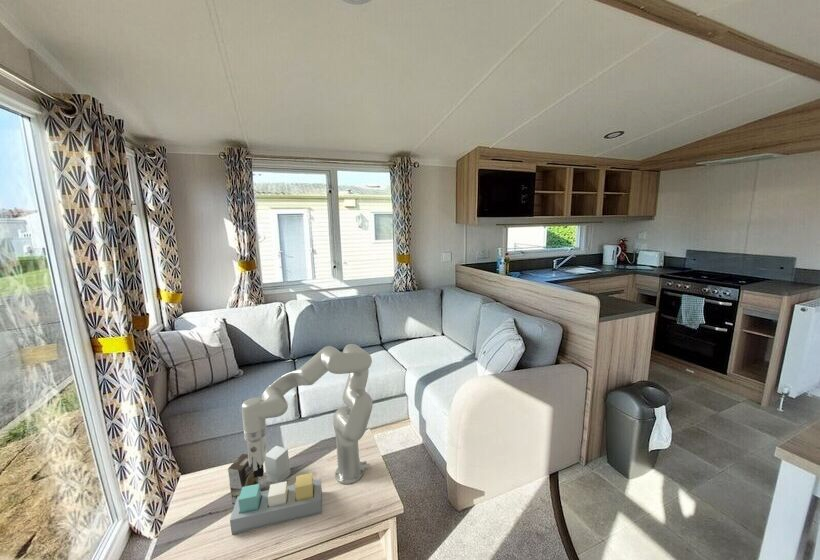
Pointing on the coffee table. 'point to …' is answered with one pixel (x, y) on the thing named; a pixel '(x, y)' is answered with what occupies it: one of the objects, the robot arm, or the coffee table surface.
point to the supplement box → (277, 464)
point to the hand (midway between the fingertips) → (259, 475)
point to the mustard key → (304, 487)
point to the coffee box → (240, 476)
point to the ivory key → (278, 494)
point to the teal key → (250, 498)
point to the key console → (277, 510)
